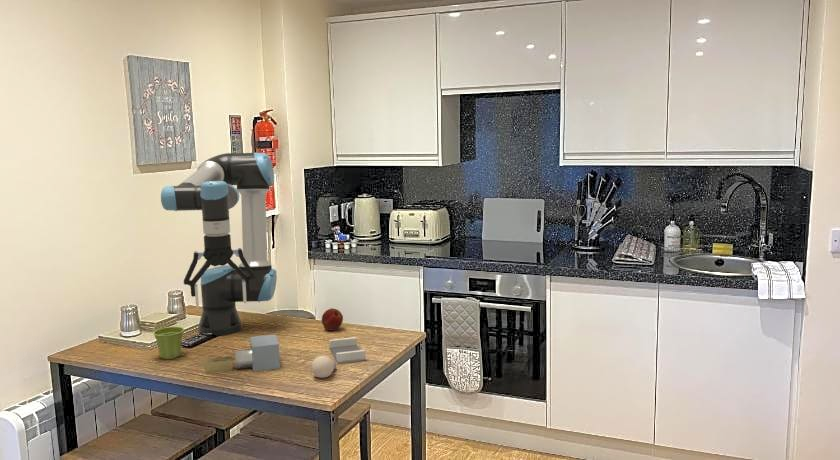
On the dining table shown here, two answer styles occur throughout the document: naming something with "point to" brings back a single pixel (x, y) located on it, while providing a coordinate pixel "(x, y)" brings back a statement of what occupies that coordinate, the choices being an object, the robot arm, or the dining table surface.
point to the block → (265, 352)
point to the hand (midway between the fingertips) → (221, 304)
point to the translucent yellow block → (218, 364)
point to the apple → (332, 319)
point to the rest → (346, 350)
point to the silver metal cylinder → (243, 358)
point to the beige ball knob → (323, 366)
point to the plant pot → (169, 341)
